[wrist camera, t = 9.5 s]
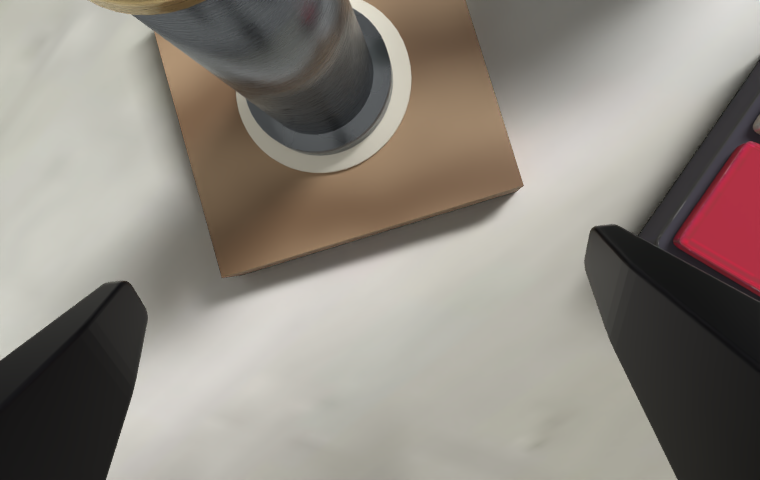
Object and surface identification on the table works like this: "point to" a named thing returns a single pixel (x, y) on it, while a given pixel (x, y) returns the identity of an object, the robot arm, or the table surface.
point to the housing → (284, 62)
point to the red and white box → (719, 199)
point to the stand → (358, 164)
